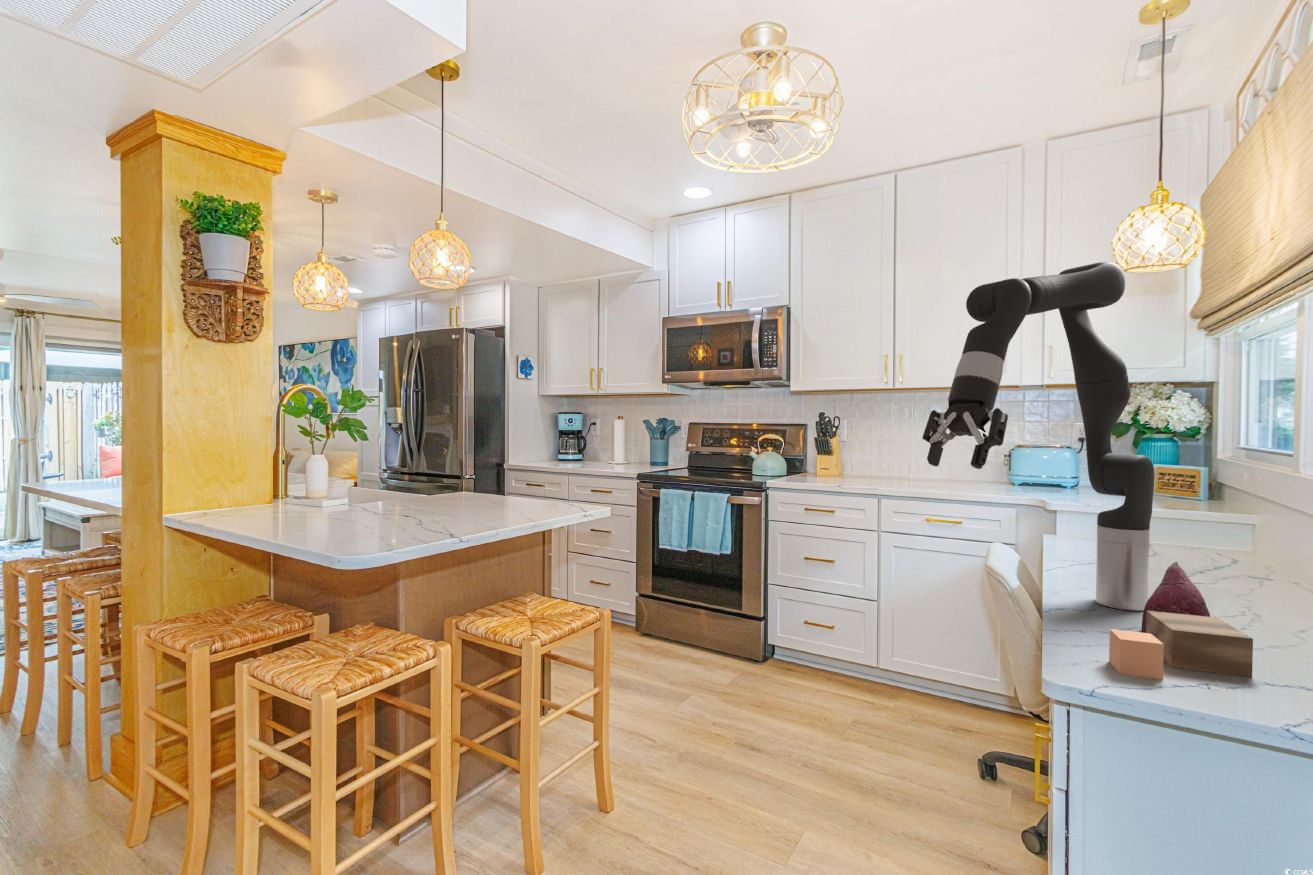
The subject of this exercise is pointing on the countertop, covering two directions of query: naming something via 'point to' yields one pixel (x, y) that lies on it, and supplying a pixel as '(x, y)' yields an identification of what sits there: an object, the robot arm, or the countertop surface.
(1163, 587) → the vegetable
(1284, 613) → the countertop surface
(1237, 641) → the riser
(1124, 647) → the block
